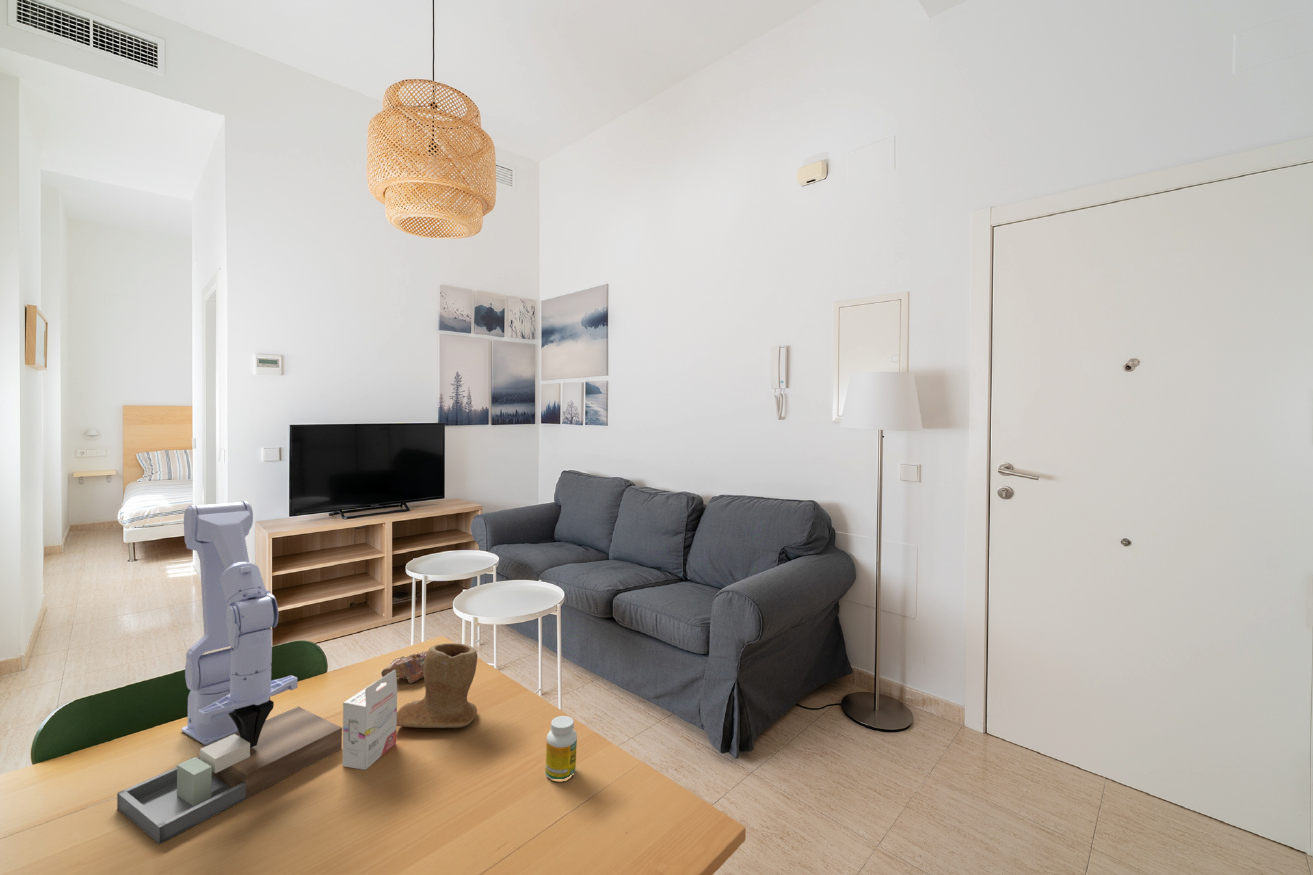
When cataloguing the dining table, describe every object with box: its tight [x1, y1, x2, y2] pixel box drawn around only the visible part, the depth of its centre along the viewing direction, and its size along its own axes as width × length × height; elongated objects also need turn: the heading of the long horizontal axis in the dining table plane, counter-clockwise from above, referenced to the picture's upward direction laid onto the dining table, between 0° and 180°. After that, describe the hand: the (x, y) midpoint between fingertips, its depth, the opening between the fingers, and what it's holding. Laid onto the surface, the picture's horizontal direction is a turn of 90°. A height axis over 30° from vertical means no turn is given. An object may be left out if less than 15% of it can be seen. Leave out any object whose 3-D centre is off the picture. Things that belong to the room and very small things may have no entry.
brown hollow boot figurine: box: [396, 642, 478, 729], centre depth 114 cm, size 15×12×15 cm
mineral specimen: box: [380, 650, 428, 684], centre depth 131 cm, size 12×8×7 cm, turn 163°
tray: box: [116, 756, 246, 845], centre depth 87 cm, size 14×11×2 cm
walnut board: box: [201, 706, 343, 800], centre depth 99 cm, size 14×16×4 cm
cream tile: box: [199, 733, 250, 773], centre depth 92 cm, size 5×5×2 cm
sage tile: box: [176, 756, 212, 806], centre depth 88 cm, size 5×5×2 cm
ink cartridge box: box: [342, 670, 398, 771], centre depth 101 cm, size 9×5×15 cm, turn 168°
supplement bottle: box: [545, 715, 578, 779], centre depth 99 cm, size 5×5×10 cm
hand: (249, 745), depth 95 cm, fingers closed
